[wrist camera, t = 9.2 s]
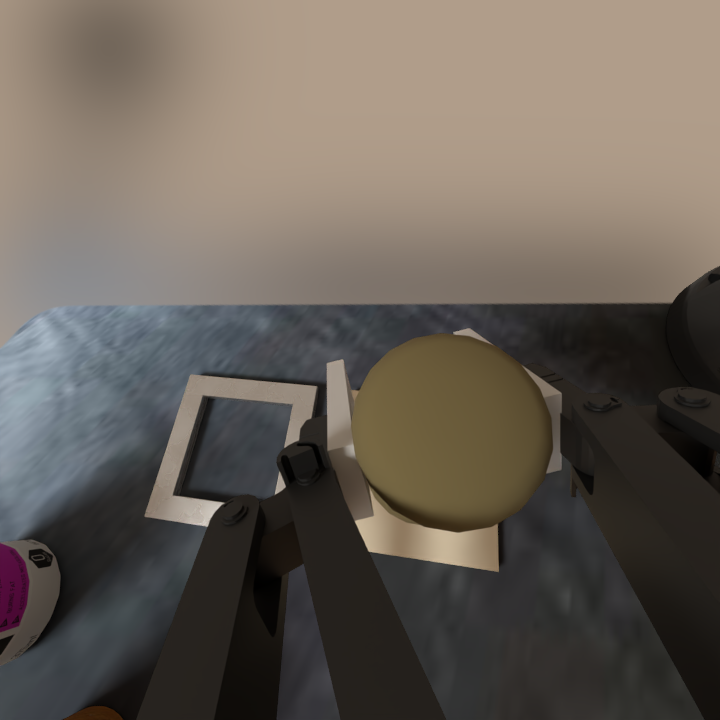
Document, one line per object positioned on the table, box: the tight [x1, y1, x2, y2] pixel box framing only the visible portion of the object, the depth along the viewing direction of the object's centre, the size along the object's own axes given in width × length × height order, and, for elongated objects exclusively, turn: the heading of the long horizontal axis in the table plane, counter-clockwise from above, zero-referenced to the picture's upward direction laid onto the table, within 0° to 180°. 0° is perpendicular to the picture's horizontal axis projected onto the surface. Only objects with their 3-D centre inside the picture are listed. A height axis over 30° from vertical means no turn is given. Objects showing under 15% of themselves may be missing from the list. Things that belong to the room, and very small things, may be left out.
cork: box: [351, 333, 553, 533], centre depth 13 cm, size 6×6×11 cm
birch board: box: [351, 390, 499, 572], centre depth 27 cm, size 12×12×1 cm
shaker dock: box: [144, 375, 319, 527], centre depth 29 cm, size 12×12×1 cm
